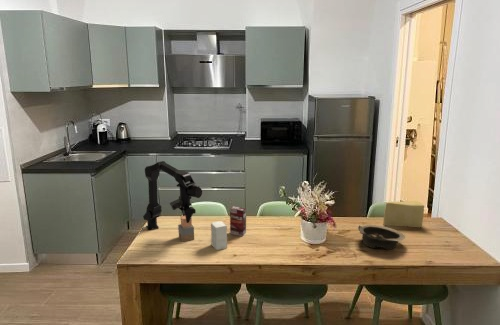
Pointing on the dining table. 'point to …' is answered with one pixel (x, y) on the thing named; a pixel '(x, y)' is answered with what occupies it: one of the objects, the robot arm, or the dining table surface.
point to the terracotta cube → (184, 223)
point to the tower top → (185, 230)
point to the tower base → (186, 237)
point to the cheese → (404, 213)
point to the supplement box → (238, 221)
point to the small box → (219, 235)
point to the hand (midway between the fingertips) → (186, 220)
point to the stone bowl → (380, 236)
